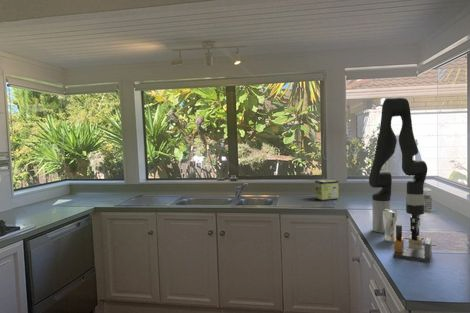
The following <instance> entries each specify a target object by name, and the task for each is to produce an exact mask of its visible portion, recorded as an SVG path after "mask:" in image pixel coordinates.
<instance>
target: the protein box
mask: <svg viewBox="0 0 470 313" xmlns="http://www.w3.org/2000/svg"><path fill="white" fill-rule="evenodd" d="M314 182H315V184H314V187H315V192H314V193H315V200H317V201H320V202H330V201H329V200H332V201H338V200H337V199H339V181H338V180H335V179H322V180H315V181H314Z"/></svg>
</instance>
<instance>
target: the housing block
mask: <svg viewBox="0 0 470 313" xmlns="http://www.w3.org/2000/svg"><path fill="white" fill-rule="evenodd" d="M422 246H423V237H422V236H417V240H412V235H409V238H408V248H415V249H422V248H423V247H422Z"/></svg>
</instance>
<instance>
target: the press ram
mask: <svg viewBox="0 0 470 313" xmlns="http://www.w3.org/2000/svg"><path fill="white" fill-rule="evenodd" d="M404 238H405V237H403V226H402V225H400V224H398V225H396V238H395V240H394V242H393V253H394V252H399V253H402V251H403V249H404V247H405V246H404V245H405V244H404V242H405V241H404Z"/></svg>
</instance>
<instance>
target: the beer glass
mask: <svg viewBox="0 0 470 313" xmlns="http://www.w3.org/2000/svg"><path fill="white" fill-rule="evenodd" d="M398 214H399V212H398V210H397V209H391V208H390V209H386V210H383V224H384V230H385V233H384V237H383V240H384V241H385V242H391V243H394V240H395V238H396V225H399V224H398V223H399V215H398Z"/></svg>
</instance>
